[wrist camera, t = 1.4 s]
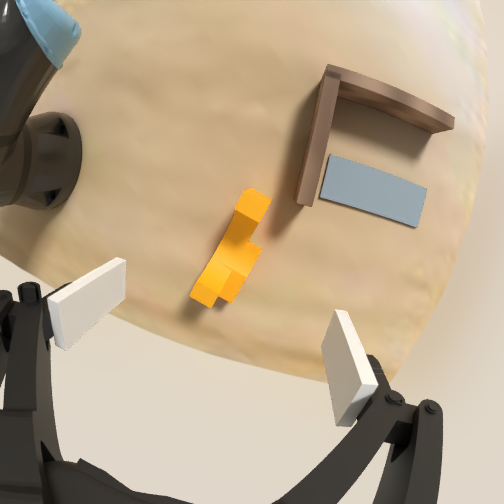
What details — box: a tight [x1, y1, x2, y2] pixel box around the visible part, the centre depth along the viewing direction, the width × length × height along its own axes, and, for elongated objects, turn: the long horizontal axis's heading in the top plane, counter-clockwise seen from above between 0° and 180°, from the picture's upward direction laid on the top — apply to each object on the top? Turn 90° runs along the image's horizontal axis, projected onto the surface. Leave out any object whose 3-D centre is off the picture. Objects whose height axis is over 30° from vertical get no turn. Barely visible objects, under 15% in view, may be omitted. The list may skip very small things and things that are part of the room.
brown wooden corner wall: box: [294, 64, 455, 207], centre depth 25 cm, size 15×15×5 cm
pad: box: [320, 154, 427, 227], centre depth 29 cm, size 13×5×1 cm, turn 77°
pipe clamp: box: [190, 188, 272, 308], centre depth 29 cm, size 12×4×6 cm, turn 151°
